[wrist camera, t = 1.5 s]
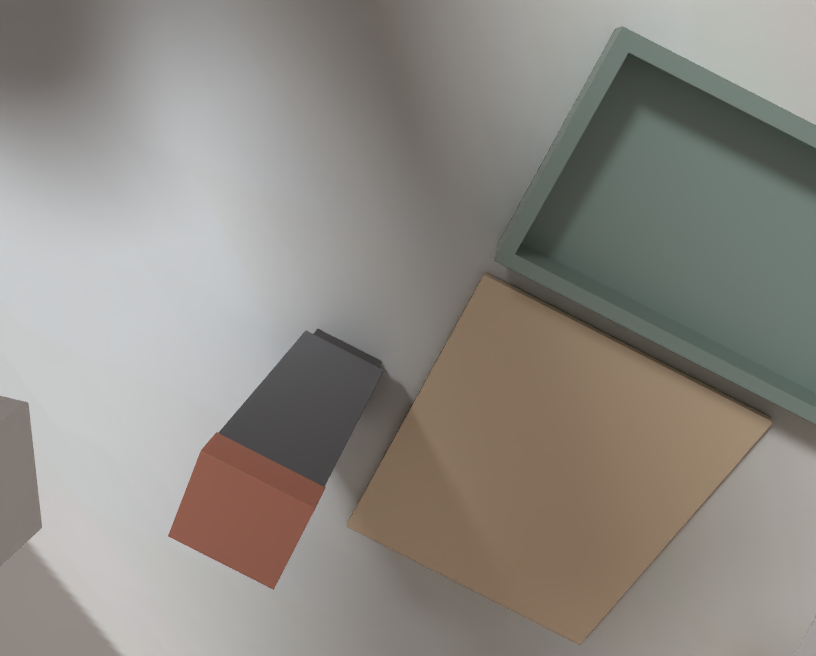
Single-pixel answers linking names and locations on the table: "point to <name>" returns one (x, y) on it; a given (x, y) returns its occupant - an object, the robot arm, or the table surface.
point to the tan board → (549, 461)
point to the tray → (682, 219)
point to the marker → (276, 458)
